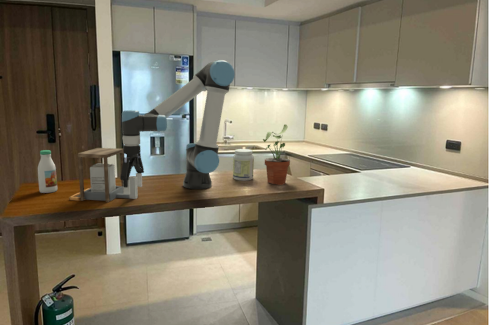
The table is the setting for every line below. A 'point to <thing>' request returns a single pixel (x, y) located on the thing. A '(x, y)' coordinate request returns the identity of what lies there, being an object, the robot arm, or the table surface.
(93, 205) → the table surface
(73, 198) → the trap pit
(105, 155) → the tunnel
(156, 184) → the table surface
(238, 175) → the supplement tub
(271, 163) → the potted plant
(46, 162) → the milk bottle
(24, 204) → the table surface
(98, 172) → the supplement box
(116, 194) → the cradle
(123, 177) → the robot arm
